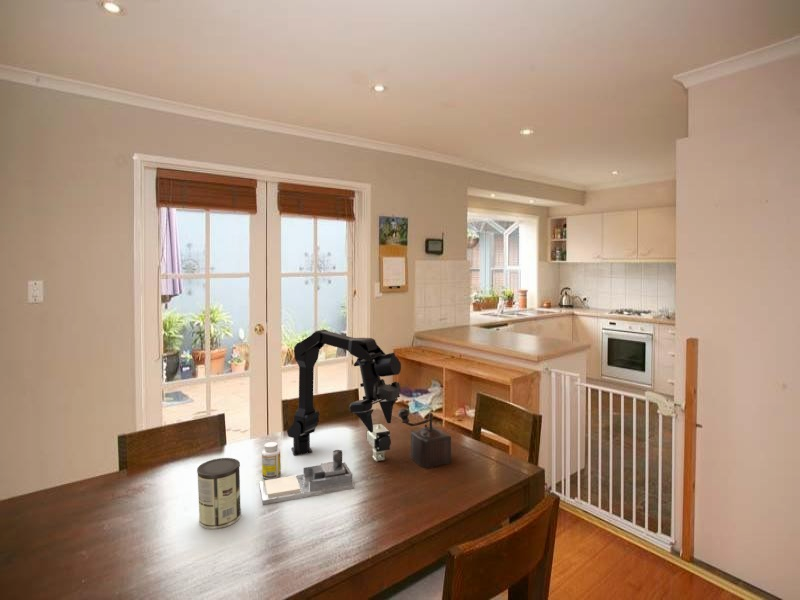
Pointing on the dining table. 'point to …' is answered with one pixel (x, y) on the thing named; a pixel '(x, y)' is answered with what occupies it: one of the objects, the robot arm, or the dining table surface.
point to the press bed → (282, 486)
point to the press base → (312, 486)
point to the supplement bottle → (271, 461)
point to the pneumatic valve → (379, 441)
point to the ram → (330, 467)
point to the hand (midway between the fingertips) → (380, 427)
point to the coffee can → (219, 493)
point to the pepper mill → (428, 443)
